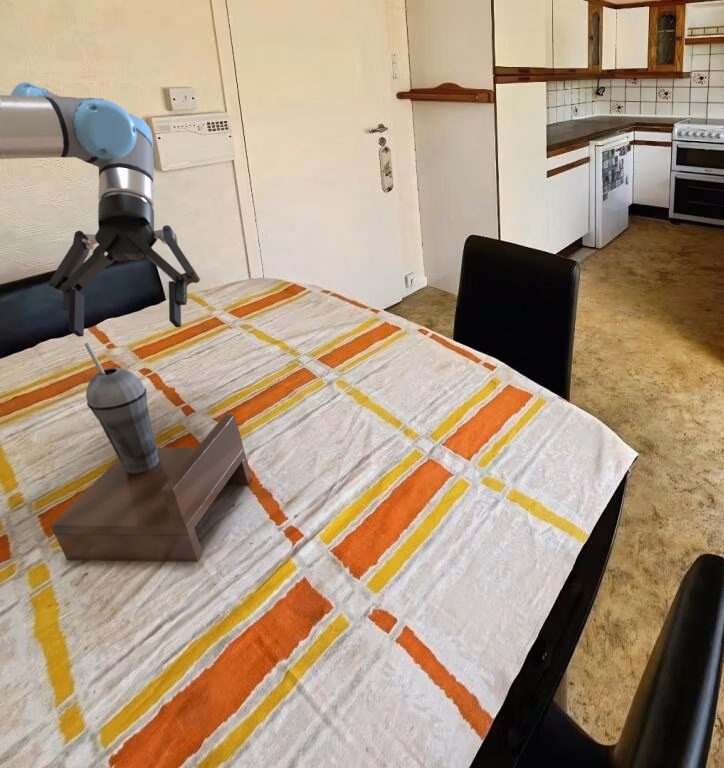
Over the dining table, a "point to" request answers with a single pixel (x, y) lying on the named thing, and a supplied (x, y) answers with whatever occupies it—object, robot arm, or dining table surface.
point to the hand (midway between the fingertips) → (126, 328)
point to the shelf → (154, 502)
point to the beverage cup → (123, 415)
